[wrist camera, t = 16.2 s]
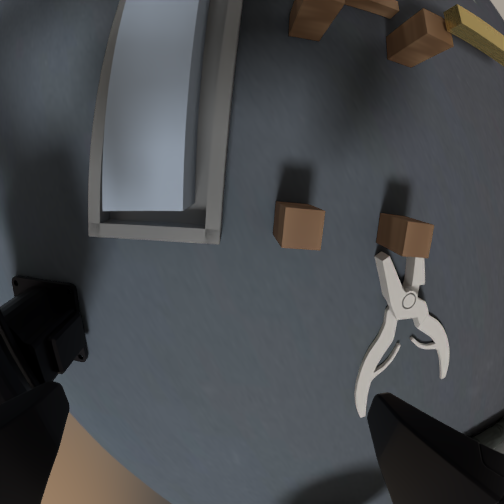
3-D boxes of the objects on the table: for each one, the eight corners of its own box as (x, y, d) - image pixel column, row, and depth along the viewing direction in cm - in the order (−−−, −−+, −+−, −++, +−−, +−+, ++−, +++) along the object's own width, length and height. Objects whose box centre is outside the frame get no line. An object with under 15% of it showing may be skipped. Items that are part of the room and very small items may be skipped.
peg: (130, 203, 16) (102, 211, 13) (155, -18, 13) (141, -49, 9) (194, 203, 17) (182, 210, 13) (212, -22, 13) (209, -57, 9)
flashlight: (407, 458, 26) (421, 485, 21) (508, 406, 27) (524, 423, 22) (397, 476, 28) (409, 501, 23) (496, 426, 28) (510, 443, 23)
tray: (102, 230, 17) (88, 236, 15) (142, -29, 12) (135, -42, 11) (221, 237, 18) (219, 244, 16) (248, -33, 13) (249, -49, 11)
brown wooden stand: (272, 234, 18) (287, 256, 13) (291, -16, 14) (306, -59, 9) (400, 244, 19) (444, 266, 14) (405, 16, 14) (441, -11, 9)
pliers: (361, 425, 21) (336, 274, 18) (355, 413, 23) (329, 267, 19) (451, 380, 21) (455, 230, 17) (443, 372, 23) (443, 226, 19)
